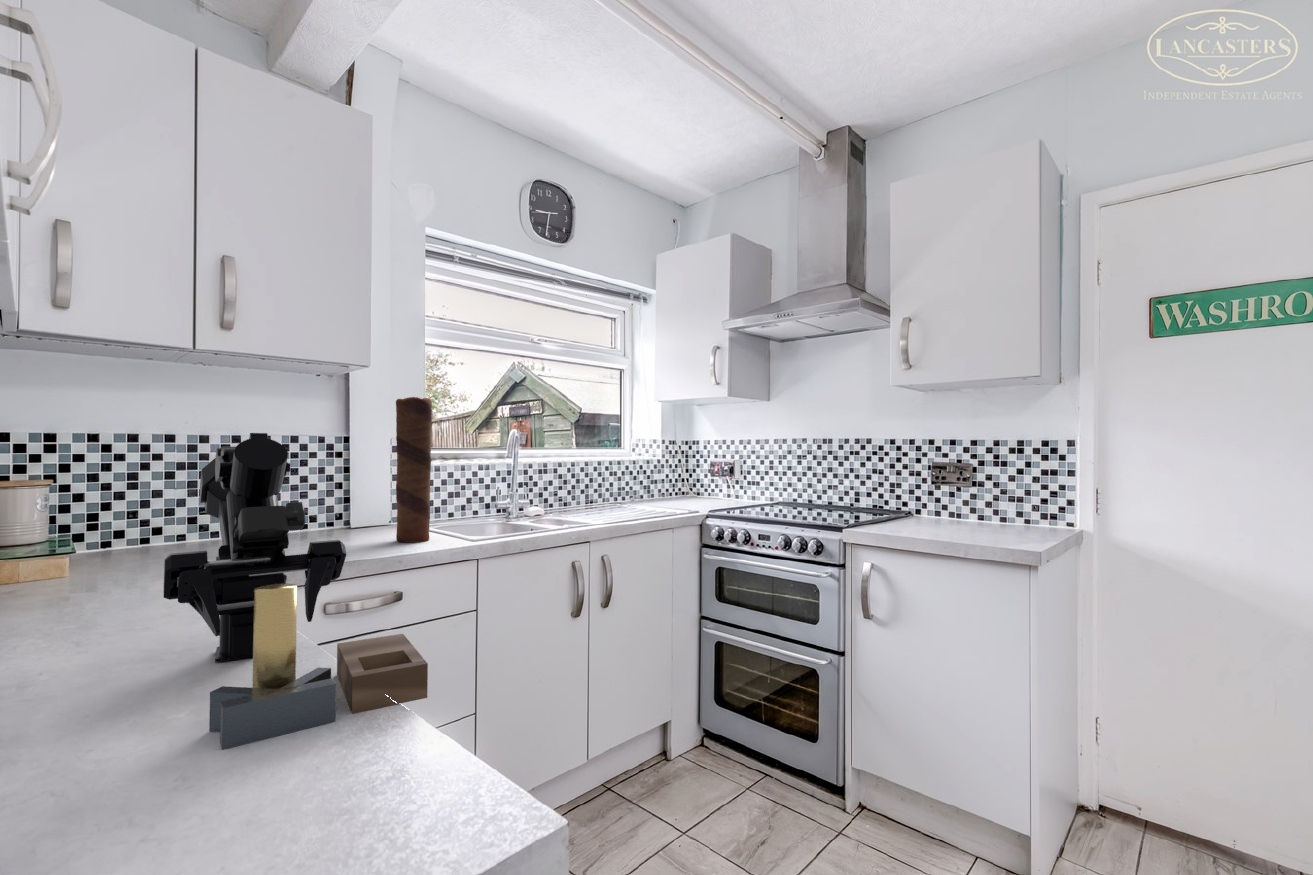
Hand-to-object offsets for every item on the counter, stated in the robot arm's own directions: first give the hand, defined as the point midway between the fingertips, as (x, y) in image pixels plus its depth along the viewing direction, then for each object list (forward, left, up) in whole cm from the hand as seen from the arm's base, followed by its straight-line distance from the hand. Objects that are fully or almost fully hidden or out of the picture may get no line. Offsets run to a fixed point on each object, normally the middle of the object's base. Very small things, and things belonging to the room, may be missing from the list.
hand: (265, 626), depth 73 cm
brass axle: (+6, +1, -8) cm, 10 cm away
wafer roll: (-119, +42, -9) cm, 127 cm away
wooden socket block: (+3, +12, -8) cm, 15 cm away
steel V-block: (+8, +1, -8) cm, 12 cm away
